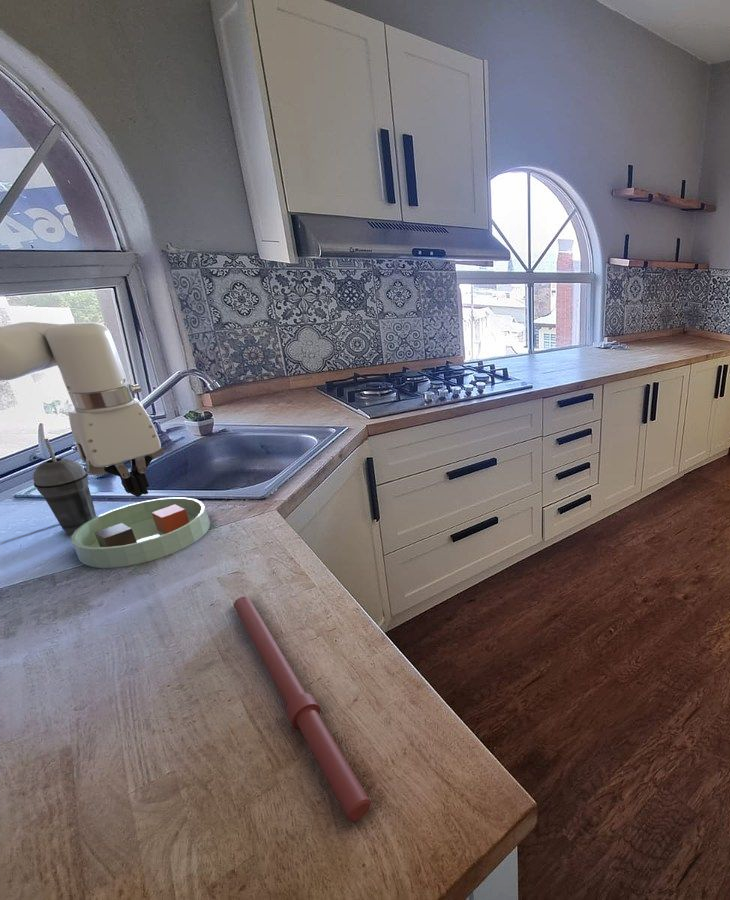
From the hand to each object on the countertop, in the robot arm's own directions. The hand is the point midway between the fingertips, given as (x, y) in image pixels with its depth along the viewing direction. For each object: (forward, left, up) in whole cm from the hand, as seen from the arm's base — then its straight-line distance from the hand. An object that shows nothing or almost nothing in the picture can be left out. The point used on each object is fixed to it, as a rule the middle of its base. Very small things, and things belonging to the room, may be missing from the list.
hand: (139, 493), depth 92 cm
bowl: (0, +3, -11) cm, 11 cm away
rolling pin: (-8, -55, -11) cm, 57 cm away
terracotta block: (+4, +3, -10) cm, 11 cm away
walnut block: (-5, +3, -10) cm, 12 cm away
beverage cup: (-5, +17, -11) cm, 21 cm away
